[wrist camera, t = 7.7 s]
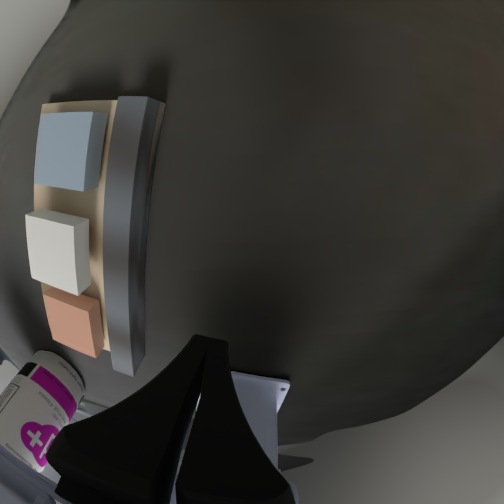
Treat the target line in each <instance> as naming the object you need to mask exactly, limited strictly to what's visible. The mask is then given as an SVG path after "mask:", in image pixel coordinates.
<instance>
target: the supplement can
mask: <svg viewBox="0 0 504 504" xmlns="http://www.w3.org/2000/svg"><path fill="white" fill-rule="evenodd" d="M84 396H85V389H84V387H83V383H82V380H81V378H80V376H79V375H78V373H77V372H76V371H75V370H74V368H73V367H72V366H71V365H70V364H69V363H68V362H66V361H65V360H64V359H63V358H62V357H60V356H58V355H57V354H55V353H53V352H49V351H43V350H41V351H37V352H36V353H35V354H34V355H33V356H32V357H31V359H30V360H29V361H28V362H27V363H26V364H25V365H24V367H23V368H22V369H21V370H20V371H19V373H18V374H17V375H16V376H15V377H14V379H13V380H12V381H11V382H10V384H9V385H8V386H7V387H6V389H5V390H4V391H3V392H2V394H1V395H0V445H2V446H3V447H4V448H5V449H7V450H8V451H9V452H10V453H12V454H13V455H14V456H16V457H17V458H18V459H20V460H21V461H23V462H24V463H25V464H27V465H28V466H30V467H31V468H33V469H34V470H36V471H37V472H41V471H43V469H44V467H45V465H46V463H47V460H46V457H45V454H46V452H47V450H48V449H49V447H50V445H51V443H52V441H53V440H54V438H55V437H56V435H57V434H58V433H59V432H60V430H61V429H62V428H63V427H64V426H66V425H68V423H69V421H70V420H71V418H72V416H73V415H74V413H75V411H76V409H77V408H78V406H79V404H80V403H81V401H82V399H83V398H84Z"/></svg>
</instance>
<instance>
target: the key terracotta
mask: <svg viewBox="0 0 504 504" xmlns="http://www.w3.org/2000/svg"><path fill="white" fill-rule="evenodd" d="M43 297H44V302H45V307H46V312H47V317H48V321H49V325H50V329H51V333H52V337H53V340H55V341H57V342H59V343H62V344H64V345H66V346H68V347H70V348H73V349H75V350H77V351H79V352H82V353H84V354H87V355H89V356H91V357H94V358H97V356H98V355H99V353H100V352H101V350H102V349H103V348H104V346H105V345H104V338H103V331H102V323H101V314H100V304H99V300H97V299H94V298H91V297H88V296H85V295H82V294H80V295H79V296H77V295H74V294H72V293H69V292H66V291H63V290H61V289H58V288H56V287H53V286H52V287H51V288H50V289H48V290H47V291H46V292H45V293H43Z"/></svg>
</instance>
